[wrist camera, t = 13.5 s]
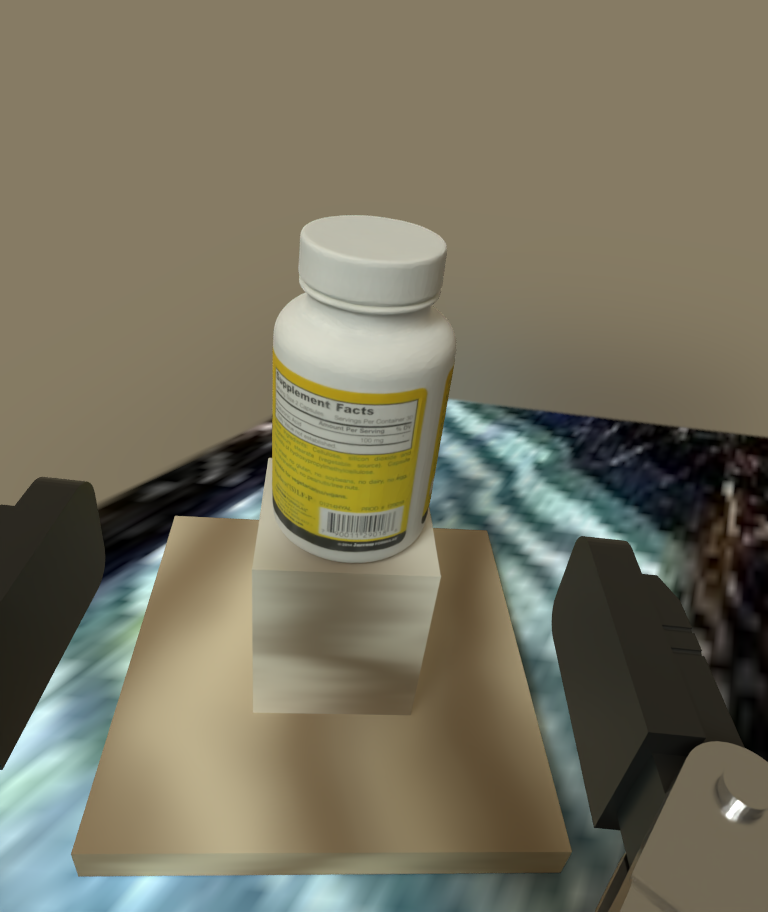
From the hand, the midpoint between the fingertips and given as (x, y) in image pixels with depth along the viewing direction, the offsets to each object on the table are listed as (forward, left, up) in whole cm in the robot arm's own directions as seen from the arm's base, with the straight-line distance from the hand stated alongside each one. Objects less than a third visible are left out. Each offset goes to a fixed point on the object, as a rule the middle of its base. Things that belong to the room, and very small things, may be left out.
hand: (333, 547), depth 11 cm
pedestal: (-1, -10, -16) cm, 19 cm away
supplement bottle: (-1, -10, -8) cm, 12 cm away
